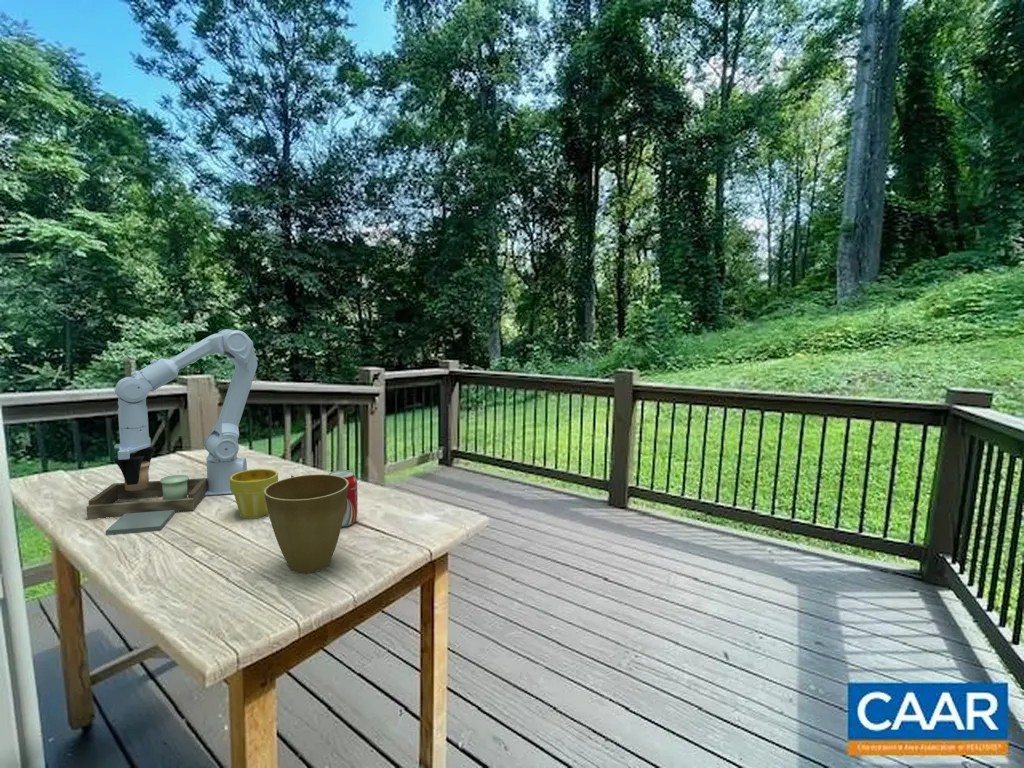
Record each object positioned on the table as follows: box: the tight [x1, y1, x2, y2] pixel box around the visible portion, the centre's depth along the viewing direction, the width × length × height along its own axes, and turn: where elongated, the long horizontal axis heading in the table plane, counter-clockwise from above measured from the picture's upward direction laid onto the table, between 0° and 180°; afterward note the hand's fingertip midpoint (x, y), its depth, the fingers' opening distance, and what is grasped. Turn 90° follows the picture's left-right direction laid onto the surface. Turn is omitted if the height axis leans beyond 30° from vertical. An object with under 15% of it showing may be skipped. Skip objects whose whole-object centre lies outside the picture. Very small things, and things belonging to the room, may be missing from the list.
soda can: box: [327, 469, 358, 528], centre depth 117 cm, size 7×7×12 cm
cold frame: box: [85, 477, 208, 520], centre depth 125 cm, size 21×14×4 cm
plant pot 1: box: [230, 468, 279, 519], centre depth 122 cm, size 10×10×10 cm
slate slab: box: [105, 510, 176, 536], centre depth 114 cm, size 10×10×1 cm
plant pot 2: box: [264, 473, 349, 575], centre depth 96 cm, size 15×15×16 cm
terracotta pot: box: [123, 461, 151, 491], centre depth 124 cm, size 6×6×6 cm
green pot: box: [159, 474, 190, 500], centre depth 127 cm, size 6×6×6 cm
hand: (137, 480), depth 124 cm, fingers closed on terracotta pot, 5 cm apart
